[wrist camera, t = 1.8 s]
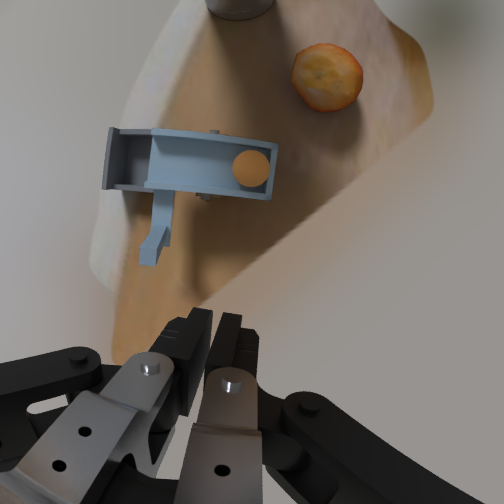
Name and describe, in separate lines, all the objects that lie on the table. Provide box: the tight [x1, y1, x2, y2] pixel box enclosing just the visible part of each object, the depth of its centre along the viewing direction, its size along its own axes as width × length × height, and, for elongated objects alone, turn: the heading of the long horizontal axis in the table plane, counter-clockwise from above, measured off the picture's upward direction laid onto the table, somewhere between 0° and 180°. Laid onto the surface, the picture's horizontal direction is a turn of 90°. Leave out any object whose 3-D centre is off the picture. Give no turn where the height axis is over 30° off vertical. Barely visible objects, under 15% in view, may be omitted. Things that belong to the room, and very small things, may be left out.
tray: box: [102, 127, 154, 193], centre depth 32 cm, size 7×7×5 cm
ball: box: [232, 150, 270, 187], centre depth 27 cm, size 4×4×4 cm
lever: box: [139, 128, 279, 266], centre depth 24 cm, size 11×12×10 cm
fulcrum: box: [196, 130, 229, 200], centre depth 31 cm, size 7×3×6 cm, turn 172°
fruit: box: [291, 44, 363, 112], centre depth 28 cm, size 8×8×8 cm
